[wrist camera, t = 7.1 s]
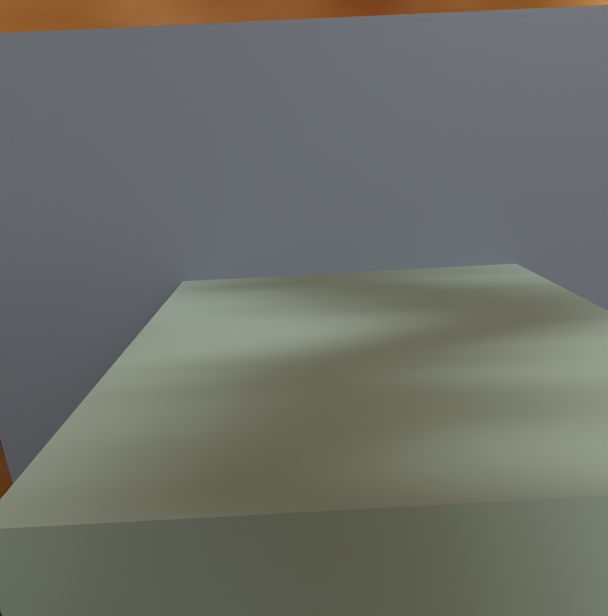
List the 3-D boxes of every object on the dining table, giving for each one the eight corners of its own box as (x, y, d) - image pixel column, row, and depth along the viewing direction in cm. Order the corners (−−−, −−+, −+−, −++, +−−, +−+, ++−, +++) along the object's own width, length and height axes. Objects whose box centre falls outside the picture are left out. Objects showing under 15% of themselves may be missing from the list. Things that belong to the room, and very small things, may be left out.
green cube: (516, 263, 9) (932, 477, 3) (492, 532, 11) (724, 976, 5) (182, 281, 9) (-27, 530, 3) (217, 548, 11) (128, 1012, 5)
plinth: (628, 47, 11) (797, -3, 8) (558, 532, 16) (643, 655, 12) (26, 75, 11) (-111, 38, 7) (123, 555, 16) (68, 686, 12)
